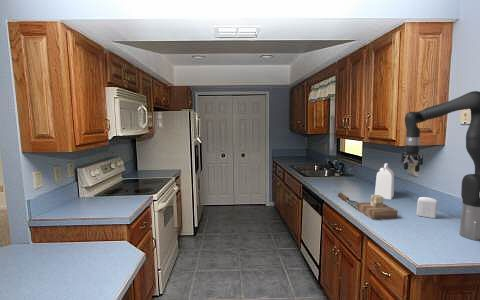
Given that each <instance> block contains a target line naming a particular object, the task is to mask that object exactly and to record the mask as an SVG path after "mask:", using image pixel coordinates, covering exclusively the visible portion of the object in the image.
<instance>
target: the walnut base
mask: <svg viewBox="0 0 480 300" xmlns="http://www.w3.org/2000/svg"><path fill="white" fill-rule="evenodd" d="M357 207H358V209H357V208H356V211H358V212H360V213H361V214H363V215H364V216H366V217H368V218H370V219H371V220H374V221H376V220H378V221H379V220H392V219H398V213H399V212H398V210H397V209H395V208H393V207H392V206H389V205H387V204H385V203H383V208H375V207H373V206H371V201H365V202H358V203H357Z"/></svg>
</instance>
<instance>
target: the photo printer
mask: <svg viewBox="0 0 480 300" xmlns="http://www.w3.org/2000/svg"><path fill="white" fill-rule="evenodd" d="M416 203H417V204H416V212H415V214H416V216H418V217H423V218H430V219H436V218H437V209H438V200H437V199H435V198H433V197H429V196H422V197H421V196H420V197H418V199H417V202H416Z"/></svg>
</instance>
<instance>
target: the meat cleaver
mask: <svg viewBox="0 0 480 300" xmlns="http://www.w3.org/2000/svg"><path fill="white" fill-rule="evenodd" d="M337 196H338V197H339V198H340V199H341V200H342V201H344V202H347V203H349V204H350V205H351V206H353V207H354V208H356V210H357V209H358V207H357V203H359V201H355V200H351V199H350V198H349V196H346V195H345V194H344V193H342V192H338V194H337Z"/></svg>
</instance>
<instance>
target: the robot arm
mask: <svg viewBox="0 0 480 300" xmlns="http://www.w3.org/2000/svg"><path fill="white" fill-rule="evenodd" d="M463 110H470V122H469V125H468V128H467V131H466V134H465V150H466V152H467V153H468V155H469V157H470V158H471V160H472V161H473V164H474V173H468V174H466V175H464V176H463V178H462V180H461V193H460V194H461V195H460V196H461V198H462V204H461V213H460V214H461V215H460V225H459V235H460V236H461V237H463V238H466V239H469V240H473V241H478V240H479V241H480V91H478V90H475V91H474V90H473V91H472V90H471V91H470V92H467V93H465V94H463V95H461V96H458V97H455V98H454V99H451V100H449V101H446V102H442V103H439V104H435V105H432V106H429V107H426V108H423V109H422V110H420V111H408V112H407V113H406V114H405V117H404V123H405V124H404V125H405V127H406V136H405V137H406V138H405V148H404V149H405V150H404V152H402V153H401V161H400V162H401V163H403V169H404V170H409V162H410V161H411V162H412V163H414V165H415V166H414V171H415V172H416V173H417V172H418V173H419V171H420V166H423V164H424V155H423V154H419V153H420V150H421V149H420V147H421V139H420V138H421V129H420V128H419V127H418V125H417V124H420V123H424V122H427V121H429V120H433V119H436V118H441V117H443V116H446V115H448V114H450V113H454V112H457V111H463Z"/></svg>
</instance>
